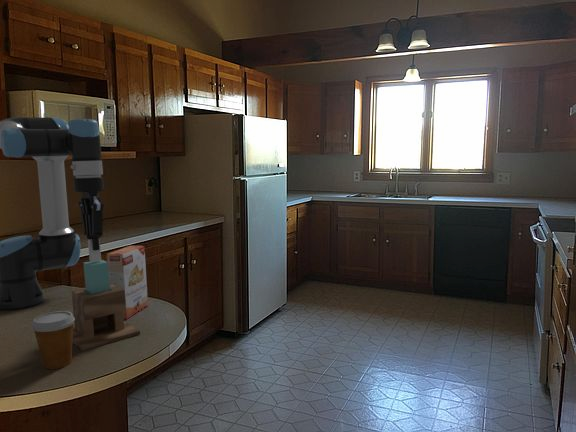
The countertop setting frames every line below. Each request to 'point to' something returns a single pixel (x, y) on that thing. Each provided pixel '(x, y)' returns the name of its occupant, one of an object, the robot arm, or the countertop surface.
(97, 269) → the block
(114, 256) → the cracker box
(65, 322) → the disposable coffee cup
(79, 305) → the chute
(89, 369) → the countertop surface
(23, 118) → the robot arm
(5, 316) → the countertop surface
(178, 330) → the countertop surface
